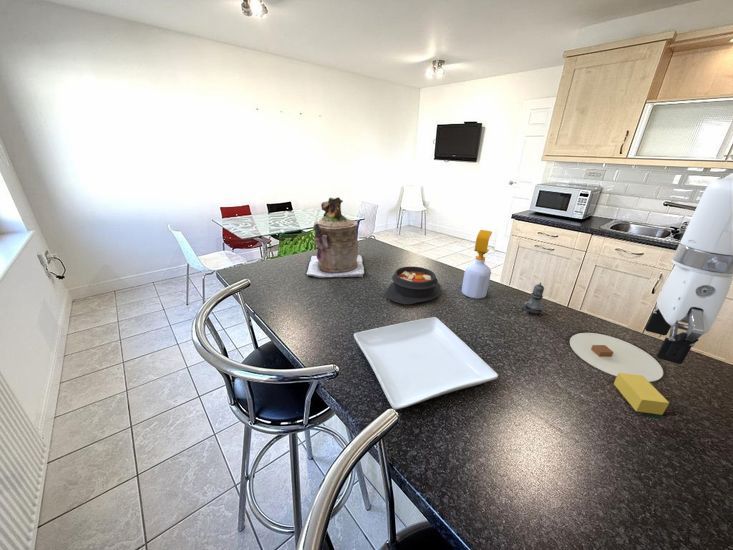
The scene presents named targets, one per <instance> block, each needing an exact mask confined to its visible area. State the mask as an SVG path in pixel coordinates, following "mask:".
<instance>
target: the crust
mask: <svg viewBox="0 0 733 550" xmlns="http://www.w3.org/2000/svg"><path fill="white" fill-rule="evenodd" d="M591 350H592V351H593V352H594V353H595V354H597V355H598V356H599V357H612V355H613V351H612V350H610V349H609V348H608V347H607V346H606V345H593V346H592V348H591Z"/></svg>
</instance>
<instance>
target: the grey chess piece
mask: <svg viewBox="0 0 733 550" xmlns="http://www.w3.org/2000/svg"><path fill="white" fill-rule="evenodd" d="M544 290H545V287H544V286H543V284H542V282H539V283H537V284H535V285H534V286H533V290H532V292H531V293H530V295H531V296H530V299H529V300H526V301H524V303H523V304H524V309H525V310H522V314H523V315H539V314H540V313H541V312H542V311H543V310H544V308H545V306H544V305H543V304H542V302H541V301H542V298H544V296H543V293H544Z"/></svg>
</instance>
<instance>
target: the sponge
mask: <svg viewBox="0 0 733 550" xmlns="http://www.w3.org/2000/svg"><path fill="white" fill-rule="evenodd" d="M613 386H615V388H616V390H618V392H619V393H620V394H621V395H622V396H623V398H624V399H625V400H626V401H627V403H628V404H629V405H630V406H631V408H632V409H633V410H634V411H635V412H638V413H644V414H634V416H635V417H636V416H637V417H643V418H644V417H645V418H651V419H658V420H659V419H661V418H662V416H663V415H664V413H665V411H666V410H667V408H668V406H669V405H670V402H669V401H668V400H667V399H666V397H664V396H663V395H662V393H661V392H660V391H658V390H657V388H656V387H655V386H654V385H653V384H652V383H651V382H649V381H648V380H647V379H646V378H645V377H644V376H643V375H634V374H626V373H618V375H617V376H615V380H614V381H613ZM651 414H652V415H651Z"/></svg>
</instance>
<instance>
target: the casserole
mask: <svg viewBox="0 0 733 550" xmlns="http://www.w3.org/2000/svg"><path fill="white" fill-rule="evenodd" d="M391 280H392V282H391V283H390V285H389V286H388V289H387V290H386V291H385V293H384V296H385V297H386V298H388V299H389V300H391V301H392V302H396V303H398V304H402V305H413V304H416V303H420V302H421V303H422V302H427V301H432V300H433V299H436V298H437V297H438V296H439V294H440V293H439V291H440V288H441V284H440V283H439V280H438V279H437V276H436V273H435V272H433V271H432V270H431V269H428V268H425V267H420V266H411V265H410V266H402V267H399V268H397V269H396V270H395V271H394V273H393V274H392V275H391Z"/></svg>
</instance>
